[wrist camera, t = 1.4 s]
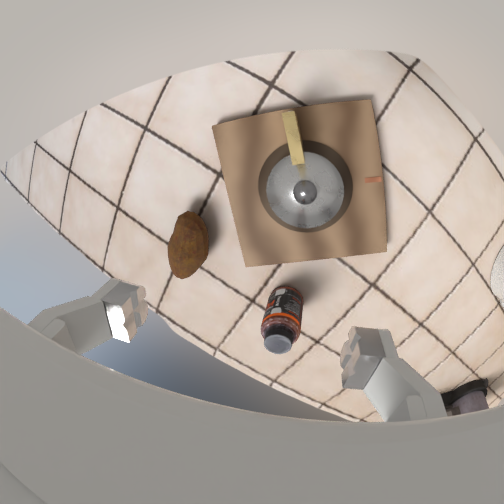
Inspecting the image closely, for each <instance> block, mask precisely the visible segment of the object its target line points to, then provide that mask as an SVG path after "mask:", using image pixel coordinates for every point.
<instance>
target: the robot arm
mask: <svg viewBox="0 0 504 504" xmlns="http://www.w3.org/2000/svg"><path fill="white" fill-rule="evenodd" d="M491 289H492V292H493V293H494V295H495V296H496V297H498V298H499V299H500V303H501V305H502V307H503V308H504V246H503V248H502V249H501V251H500V252H499V254H498V256H497V258H496V260H495V263H494V266H493V269H492V273H491ZM145 296H146V291H145V288H144V287H143V286H140V285H137V284H134V283H130V282H127V281H122V280H119V279H116V278H111V279H110V280H109V281H108V282H107V283H106V284H104V285H103V286H102V287H101V288H100V289H99V290H98V291H97V292H96V293H95V294H93V295H92V296H91V297H89V296H87V297H83V298H81V299H77V300H74V301H71V302H68V303H64V304H61V305H58V306H55V307H52V308H49V309H45V310H43V311H42V312H41V313H39V314H38V315H37V316H36V317H35V318H34V319H33V320H32V321H31V322H30V323H29V324H28V325H26V324H25V323H23V322H22V321H20V320H19V319H17V318H16V317H14V316H13V315H11V314H10V313H8V312H7V311H6V310H4V309H3V308H1V307H0V504H504V405H501V406H497V407H493V408H489V409H485V410H481V411H476V412H471V413H466V414H461V415H455V416H447V413H446V410H445V407H444V403H443V400H442V397H441V394H440V393H439V392H438V391H437V390H436V389H435V388H434V387H433V386H432V385H431V384H430V383H428V382H427V381H426V380H425V379H424V378H423V377H422V376H421V375H420V374H419V373H418V372H416V371H415V370H414V369H413V368H412V367H411V366H410V365H409V364H408V363H407V362H405V361H404V360H403V359H402V358H399V357H398V354H397V351H396V348H395V345H394V342H393V339H392V336H391V333H390V331H389V330H388V329H372V328H363V327H355V326H352V328H351V329H350V331H349V333H348V336H349V340H348V341H346V342H345V343H344V345H343V348H342V351H341V356H340V364H341V367H342V368H343V369H344V370H343V372H342V374H341V375H342V386H343V388H350V389H362V390H363V392H364V393H365V394H366V396H367V397H368V399H369V400H370V401H371V403H372V404H373V406H374V407H375V408H376V410H377V411H378V413H379V414H380V416H381V417H382V418H383V420H384V421H385V422H339V421H322V420H310V419H300V418H292V417H284V416H276V415H270V414H264V413H258V412H253V411H247V410H242V409H237V408H233V407H228V406H224V405H219V404H215V403H211V402H207V401H203V400H199V399H196V398H192V397H189V396H185V395H182V394H179V393H175V392H172V391H169V390H166V389H163V388H160V387H157V386H154V385H151V384H148V383H145V382H143V381H140V380H137V379H135V378H132V377H130V376H127V375H124V374H122V373H120V372H117V371H114V370H112V369H110V368H108V367H105V366H103V365H101V364H99V363H97V362H94V361H92V360H90V359H88V358H86V357H84V356H82V355H81V354H83V353H85V352H87V351H89V350H91V349H93V348H95V347H96V346H98V345H100V344H102V343H104V342H106V341H107V340H109V339H111V338H112V337H114V338H118V339H120V340H123V341H127V342H130V341H131V340H132V339H133V337H134V336H135V335H136V333H137V327H140V326H142V325H143V324H144V322H145V321H146V318H147V315H148V305H147V303H146V302H145V300H144V298H145Z"/></svg>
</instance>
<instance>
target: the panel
mask: <svg viewBox="0 0 504 504" xmlns="http://www.w3.org/2000/svg"><path fill="white" fill-rule="evenodd" d="M290 111H295V113H296V114H297V119H298V123H299V128H300V133H301V138H302V143H303V148H304V151H306V152H314V153H317V154H319V155H322V156H323V157H325V158H327V159H328V160H329V161H330V162H331V163H332V164H333V165H334V166H335V167H336V169H337V170H338V172H339V174H340V176H341V178H342V181H343V185H344V197H343V202H342V205H341V207H340V209H339V211H338V212H337V213H336V215H335V216H334V217H333V218H332V219H331V220H329V221H328V222H326V223H325V224H323V225H321V226H317V227H313V228H299V227H295V226H292V225H290V224H287V223H286V222H284V221H283V220H281V219H280V218H279V217H278V216H277V215H276V214H275V213H274V211H273V210H272V208H271V206H270V204H269V202H268V198H267V193H266V186H267V180H268V177H269V175H270V172H271V171H272V169H273V168H274V166H275V165H276V164H277V163H278V162H279V161H280V160H281V159H283V158H284V157H286V156H288V155H290V151H289V146H288V141H287V136H286V131H285V127H284V122H283V117H282V113H284V112H290ZM212 130H213V134H214V138H215V142H216V147H217V151H218V155H219V159H220V164H221V168H222V172H223V176H224V180H225V184H226V189H227V193H228V197H229V201H230V205H231V209H232V213H233V217H234V222H235V226H236V230H237V234H238V238H239V242H240V246H241V250H242V254H243V258H244V262H245V266H246V267H252V266H262V265H272V264H282V263H291V262H301V261H310V260H319V259H329V258H338V257H347V256H355V255H364V254H373V253H381V252H387V232H386V209H385V194H384V182H383V172H382V164H381V156H380V148H379V141H378V135H377V129H376V123H375V118H374V112H373V107H372V103H371V100H356V101H344V102H334V103H325V104H317V105H310V106H303V107H297V108H290V109H285V110H279V111H274V112H269V113H264V114H259V115H254V116H250V117H245V118H241V119H237V120H233V121H229V122H225V123H221V124H217V125H213V126H212Z"/></svg>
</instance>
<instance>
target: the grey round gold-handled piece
mask: <svg viewBox="0 0 504 504" xmlns="http://www.w3.org/2000/svg"><path fill="white" fill-rule="evenodd" d="M282 117H283V122H284V127H285V131H286V136H287V141H288V146H289V151H290V155H288V156H286V157H284V158H283V159H281V160H280V161H279V162H278V163H277V164H276V165H275V166H274V168H273V169H272V171H271V172H270V175H269V177H268V180H267V186H266V193H267V198H268V202H269V204H270V206H271V208H272V210H273V211H274V213H275V214H276V215H277V216H278V217H279V218H280V219H281V220H283V221H284V222H286V223H287V224H290V225H292V226H295V227H299V228H313V227H317V226H321V225H323V224H325V223H326V222H328V221H329V220H331V219H332V218H333V217H334V216H335V215H336V213H337V212H338V211H339V209H340V207H341V205H342V202H343V197H344V185H343V181H342V178H341V176H340V174H339V172H338V170H337V169H336V167H335V166H334V165H333V164H332V163H331V162H330V161H329V160H328V159H327V158H325V157H323V156H322V155H319V154H317V153H314V152H306V151H304V148H303V143H302V138H301V133H300V128H299V123H298V119H297V114H296V113H295V111H290V112H284V113H282Z"/></svg>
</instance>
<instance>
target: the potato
mask: <svg viewBox="0 0 504 504" xmlns="http://www.w3.org/2000/svg"><path fill="white" fill-rule="evenodd" d="M208 248H209V239H208V232H207V228H206V225H205V223H204V221H203V220H202V218H201V217H200V216H198V215H197V214H196V213H195V212H190V211H187V212H185V213H183V214H181V215H179V216H178V219H177V221H176V224H175V228H174V232H173V234H172V236H171V238H170V241H169V244H168V258H169V264H170V267H171V270H172V272H173V273H174V275H175V276H176V277H178V278H180V279H184V278H188V277H189V276H191V275H192V274H194V273H195V272H196V271H197V269H198V268H199V267H200V266H201V265H202V264H203V263H204V261H205V260H206V258H207V255H208Z"/></svg>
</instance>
